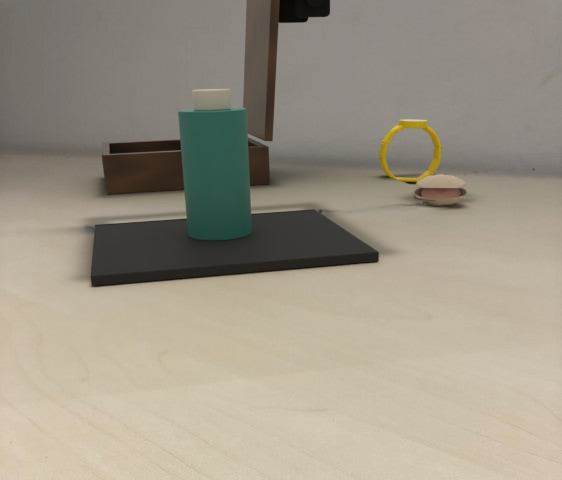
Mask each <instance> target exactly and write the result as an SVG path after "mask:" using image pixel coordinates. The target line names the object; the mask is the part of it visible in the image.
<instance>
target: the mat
mask: <svg viewBox="0 0 562 480" xmlns="http://www.w3.org/2000/svg"><path fill="white" fill-rule="evenodd" d="M251 221H252V233H251V234H250V235H248V236H245V237H242V238H237V239H231V240H217V241H210V240H198V239H194V238H191V237H189V236H188V228H187V217H186V218H172V219H158V220H145V221H144V220H143V221H131V222H128V221H127V222H117V223H115V222H114V223H101V224H100V223H99V224H95V225H94V233H93V234H94V235H93V245H92V257H91V267H90V268H91V269H90V283H91V286H92V287H97V286H107V285H119V284H120V285H121V284H130V283H132V284H133V283H142V282H154V281H165V280H166V281H167V280H176V279H177V280H178V279H189V278H201V277H210V276H211V277H212V276H223V275H224V276H225V275H234V274H235V275H236V274H247V273H259V272H269V271H270V272H271V271H281V270H293V269H305V268H316V267H326V266H337V265H338V266H339V265H351V264H361V263H373V262H375V263H376V262H379V260H380V253H379V251H378V250H377V249H375V248H374V247H372V246H371V245H369V244H368V243H366V242H365V241H363V240H362V239H360V238H358V237H357V236H356V235H354V234H353V233H351V232H350V231H348V230H346V229H345V228H343V227H342V226H340V225H339V224H337V223H336V222H335V221H333V220H331V219H330V218H328V217H327V216H325V215H324V214H323V213H321V212H320V211H317V210H316V209H314V208H313V209H300V210H299V209H298V210H287V211H273V212H272V211H270V212H258V213H251Z"/></svg>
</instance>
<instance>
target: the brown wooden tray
mask: <svg viewBox="0 0 562 480" xmlns="http://www.w3.org/2000/svg"><path fill="white" fill-rule="evenodd" d="M269 149H270V147H269V146H268V145H266V144H264V143H262V142H259V141H258V140H255V139H253V138H251V137H249V136H248V154H249V176H250V187H257V186H258V187H261V186H270V185H271V178H270V176H271V175H270V173H271V172H270V150H269ZM101 162H102V169H103V170H102V171H103V178H104V186H105V193H106V196H117V195H130V194H131V195H133V194H134V195H135V194H147V193H164V192H179V191H180V192H181V191H182V192H183V191H184V179H183V167H182V154H181V142H180V138H179V139H178V138H174V139H155V140H154V139H153V140H135V141H134V140H133V141H115V142H113V141H112V142H103V143H102V147H101Z"/></svg>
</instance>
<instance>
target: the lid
mask: <svg viewBox="0 0 562 480" xmlns="http://www.w3.org/2000/svg"><path fill="white" fill-rule="evenodd" d="M279 3H280V0H246V8H245V9H246V10H245V11H246V12H245V33H244V34H245V37H244V70H243V95H242V97H243V98H242V108H246V109H247V131H248V135H250V136H252V137H255V138H257V139H259V140H261V141H264V142H273V140H274V124H275V123H274V122H275V121H274V120H275V103H276V102H275V100H276V82H277V81H276V80H277V59H278V44H279V43H278V42H279V41H278V40H279V24H280V23H279Z"/></svg>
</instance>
